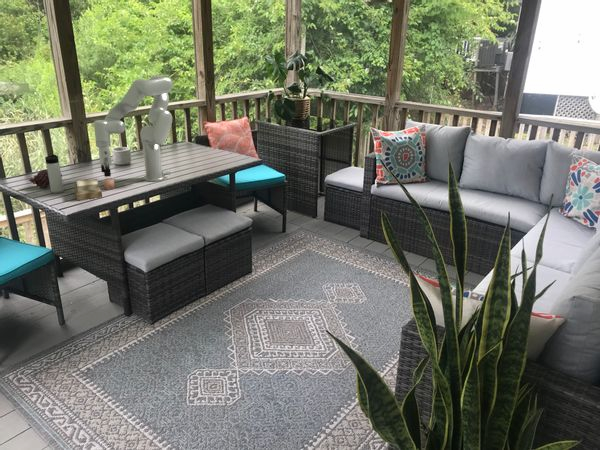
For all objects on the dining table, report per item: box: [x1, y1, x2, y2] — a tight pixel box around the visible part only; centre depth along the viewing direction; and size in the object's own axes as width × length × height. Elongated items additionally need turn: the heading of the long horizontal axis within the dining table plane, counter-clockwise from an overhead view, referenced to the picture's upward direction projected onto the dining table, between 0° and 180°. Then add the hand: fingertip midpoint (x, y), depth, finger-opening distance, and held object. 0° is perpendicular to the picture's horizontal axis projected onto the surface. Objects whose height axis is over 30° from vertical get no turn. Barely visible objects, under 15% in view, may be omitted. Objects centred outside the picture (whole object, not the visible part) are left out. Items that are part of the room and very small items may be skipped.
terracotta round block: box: [102, 177, 116, 191], centre depth 271 cm, size 6×6×5 cm
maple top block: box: [76, 178, 100, 193], centre depth 257 cm, size 10×10×4 cm
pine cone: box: [28, 169, 63, 189], centre depth 269 cm, size 18×10×10 cm, turn 139°
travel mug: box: [44, 154, 65, 195], centre depth 260 cm, size 6×7×20 cm
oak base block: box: [73, 187, 103, 202], centre depth 258 cm, size 12×12×4 cm
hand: (106, 174), depth 268 cm, fingers open, 9 cm apart
